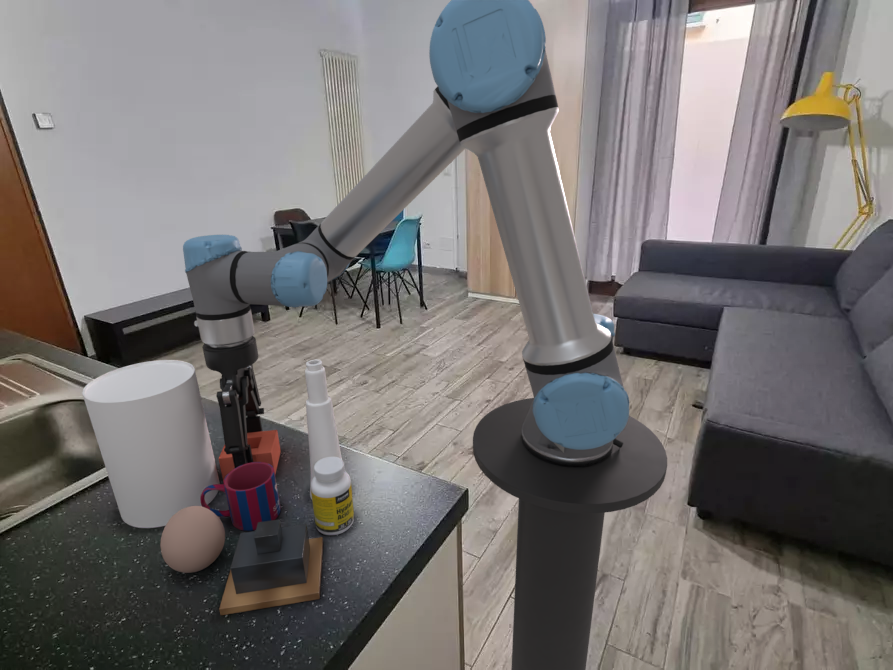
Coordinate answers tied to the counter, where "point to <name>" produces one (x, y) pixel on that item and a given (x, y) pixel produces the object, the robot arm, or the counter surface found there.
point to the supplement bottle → (332, 496)
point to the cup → (248, 495)
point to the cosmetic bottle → (320, 416)
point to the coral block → (256, 451)
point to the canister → (152, 439)
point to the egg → (192, 539)
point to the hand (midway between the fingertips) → (252, 464)
